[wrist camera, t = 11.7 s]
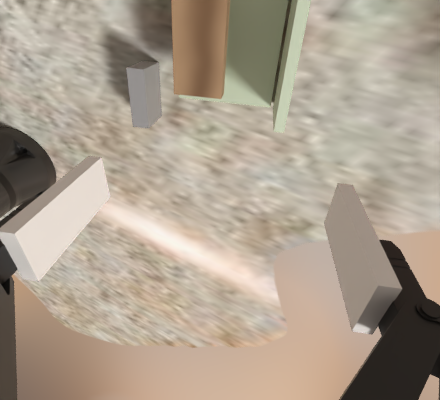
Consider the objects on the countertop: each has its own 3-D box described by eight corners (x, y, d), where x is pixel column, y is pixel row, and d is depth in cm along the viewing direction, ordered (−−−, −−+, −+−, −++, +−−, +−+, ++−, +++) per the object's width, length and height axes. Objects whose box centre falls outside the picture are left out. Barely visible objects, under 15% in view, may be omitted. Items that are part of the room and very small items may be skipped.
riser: (147, 114, 46) (133, 126, 41) (143, 60, 41) (126, 67, 36) (161, 115, 46) (148, 128, 41) (158, 62, 41) (143, 69, 36)
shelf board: (179, 89, 37) (174, 94, 35) (177, -27, 30) (170, -29, 28) (223, 94, 36) (220, 99, 34) (231, -23, 30) (229, -25, 28)
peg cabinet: (180, 95, 43) (157, 118, 34) (178, -49, 34) (145, -70, 25) (280, 106, 42) (283, 133, 33) (308, -41, 32) (323, -60, 23)
